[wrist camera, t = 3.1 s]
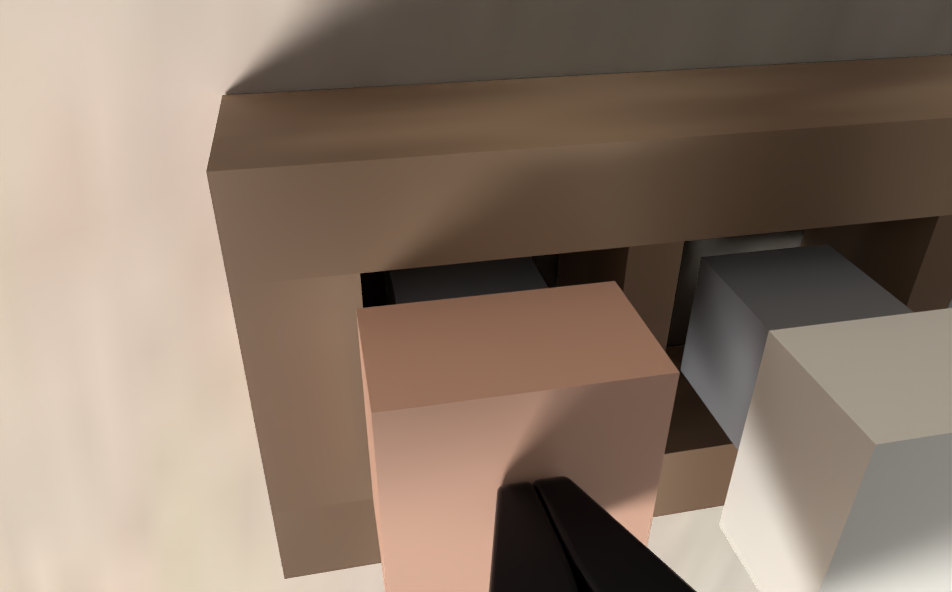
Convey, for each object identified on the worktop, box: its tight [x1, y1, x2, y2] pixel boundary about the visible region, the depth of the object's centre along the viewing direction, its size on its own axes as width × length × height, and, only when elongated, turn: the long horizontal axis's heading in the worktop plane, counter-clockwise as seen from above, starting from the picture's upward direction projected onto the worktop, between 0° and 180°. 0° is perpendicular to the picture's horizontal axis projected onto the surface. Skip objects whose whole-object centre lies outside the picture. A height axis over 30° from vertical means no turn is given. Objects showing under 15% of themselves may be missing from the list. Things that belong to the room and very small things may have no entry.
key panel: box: [207, 55, 952, 579], centre depth 13 cm, size 16×7×3 cm, turn 89°
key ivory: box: [680, 244, 952, 592], centre depth 11 cm, size 3×3×5 cm
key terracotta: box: [356, 256, 680, 592], centre depth 11 cm, size 3×3×5 cm
